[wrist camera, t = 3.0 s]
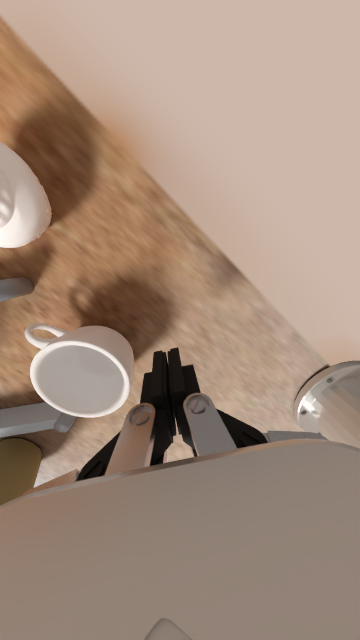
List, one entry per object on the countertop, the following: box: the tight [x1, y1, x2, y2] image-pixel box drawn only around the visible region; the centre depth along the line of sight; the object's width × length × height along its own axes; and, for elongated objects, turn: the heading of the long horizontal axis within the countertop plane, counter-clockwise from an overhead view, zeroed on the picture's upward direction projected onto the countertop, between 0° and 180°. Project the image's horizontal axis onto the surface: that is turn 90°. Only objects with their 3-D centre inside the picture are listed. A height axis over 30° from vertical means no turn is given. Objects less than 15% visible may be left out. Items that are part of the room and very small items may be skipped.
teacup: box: [25, 323, 134, 417], centre depth 16 cm, size 10×8×5 cm
